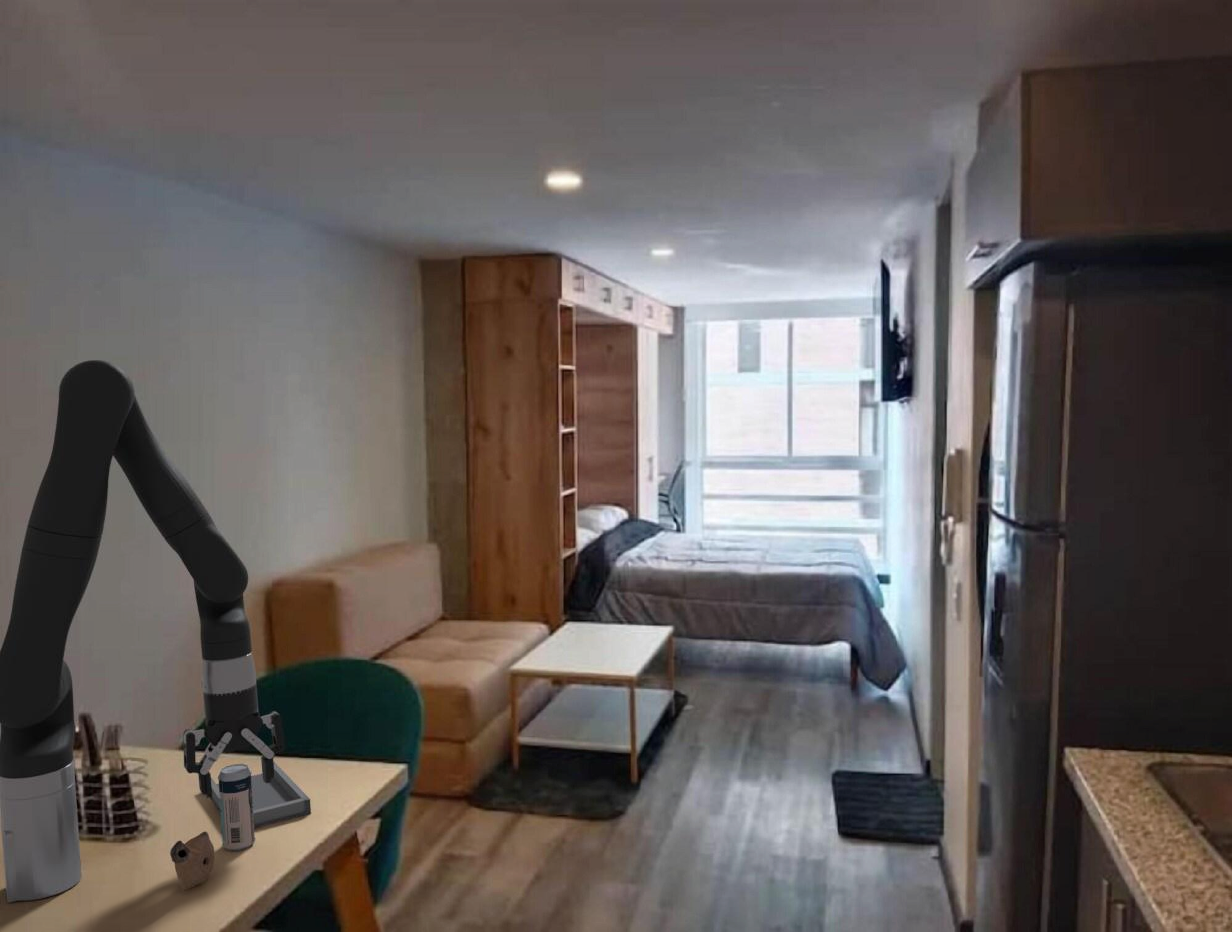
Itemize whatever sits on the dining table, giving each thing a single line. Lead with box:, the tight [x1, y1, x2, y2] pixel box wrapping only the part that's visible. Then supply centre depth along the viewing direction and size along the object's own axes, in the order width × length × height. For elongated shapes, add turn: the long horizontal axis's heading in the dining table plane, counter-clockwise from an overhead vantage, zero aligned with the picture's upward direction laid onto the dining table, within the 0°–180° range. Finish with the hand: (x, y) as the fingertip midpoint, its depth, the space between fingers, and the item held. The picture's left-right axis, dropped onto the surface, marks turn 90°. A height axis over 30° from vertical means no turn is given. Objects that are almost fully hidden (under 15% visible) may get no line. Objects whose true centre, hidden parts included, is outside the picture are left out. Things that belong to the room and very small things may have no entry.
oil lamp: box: [169, 831, 216, 891], centre depth 137 cm, size 9×4×8 cm, turn 173°
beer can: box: [217, 763, 256, 852], centre depth 150 cm, size 5×5×12 cm
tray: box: [210, 760, 312, 829], centre depth 167 cm, size 12×22×2 cm, turn 34°
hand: (238, 788), depth 150 cm, fingers open, 8 cm apart
